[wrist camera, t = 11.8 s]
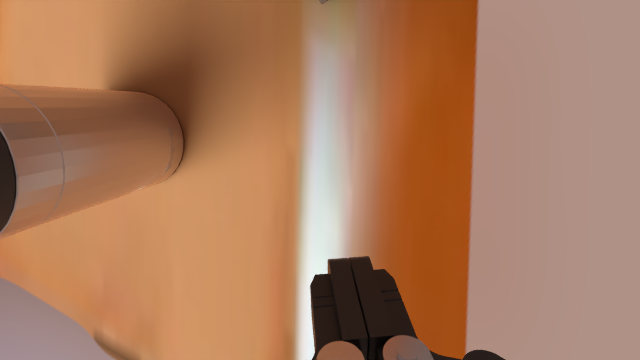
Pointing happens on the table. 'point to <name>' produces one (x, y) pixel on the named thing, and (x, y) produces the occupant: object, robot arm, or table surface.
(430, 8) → the table surface
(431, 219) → the table surface
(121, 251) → the table surface
